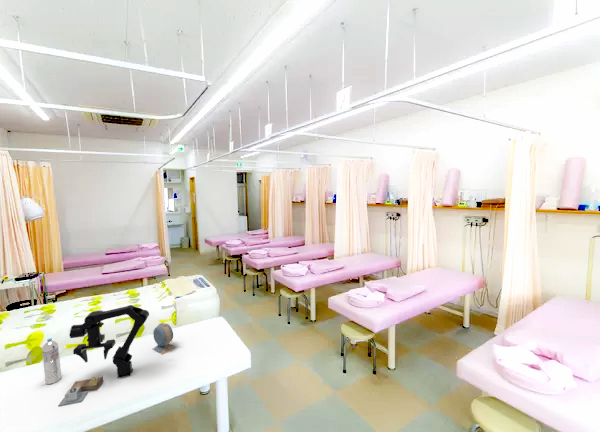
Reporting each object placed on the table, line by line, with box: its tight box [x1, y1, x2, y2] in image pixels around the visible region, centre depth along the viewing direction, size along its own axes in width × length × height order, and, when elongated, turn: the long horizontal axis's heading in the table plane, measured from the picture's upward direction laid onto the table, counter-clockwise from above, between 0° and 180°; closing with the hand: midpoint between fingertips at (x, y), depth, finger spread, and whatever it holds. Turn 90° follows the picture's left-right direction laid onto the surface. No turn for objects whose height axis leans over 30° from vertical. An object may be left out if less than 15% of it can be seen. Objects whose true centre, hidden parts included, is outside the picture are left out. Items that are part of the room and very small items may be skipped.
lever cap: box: [64, 386, 82, 402], centre depth 142 cm, size 5×5×5 cm
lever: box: [89, 376, 99, 386], centre depth 149 cm, size 3×3×3 cm
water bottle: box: [41, 337, 62, 385], centre depth 156 cm, size 7×7×25 cm
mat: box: [57, 391, 89, 407], centre depth 142 cm, size 10×8×1 cm
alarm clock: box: [152, 322, 177, 355], centre depth 187 cm, size 14×10×18 cm
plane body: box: [70, 376, 104, 392], centre depth 150 cm, size 13×6×3 cm, turn 106°
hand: (96, 360), depth 157 cm, fingers open, 9 cm apart
